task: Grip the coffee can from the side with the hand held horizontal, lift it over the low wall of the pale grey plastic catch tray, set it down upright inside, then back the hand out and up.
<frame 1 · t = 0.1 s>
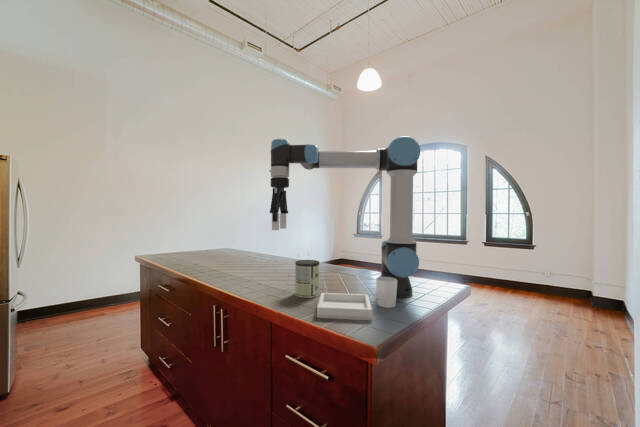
hand: (279, 229, 119), 28 cm above the counter, tool pointing down, fingers open, 13 cm apart
white cup: (386, 305, 110), on the counter
coffee can: (306, 295, 123), on the counter
catch tray: (344, 310, 104), on the counter
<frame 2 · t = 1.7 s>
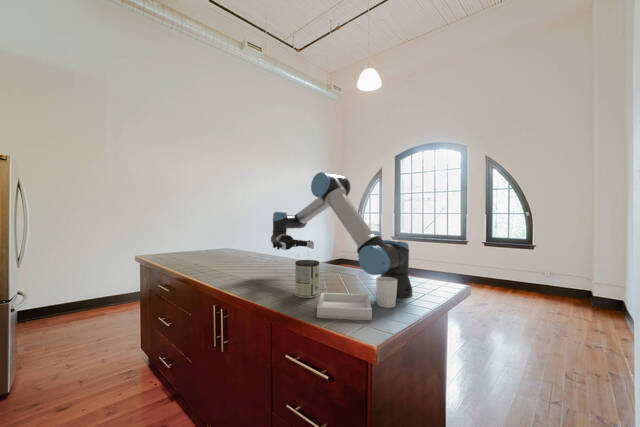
hand: (299, 246, 132), 20 cm above the counter, tool horizontal, fingers open, 13 cm apart
nothing on the counter moved.
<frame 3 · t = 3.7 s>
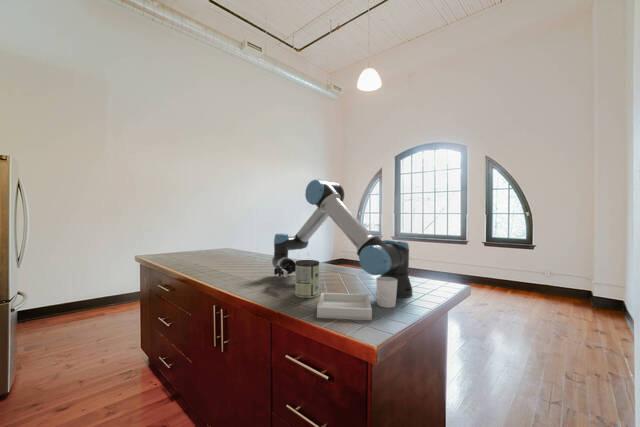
hand: (301, 273, 128), 8 cm above the counter, tool horizontal, fingers open, 13 cm apart
nothing on the counter moved.
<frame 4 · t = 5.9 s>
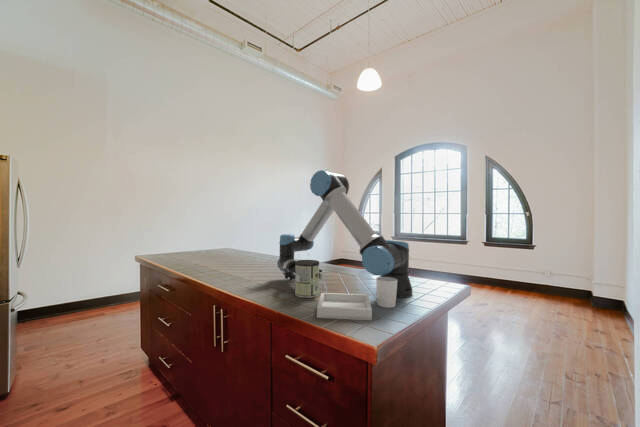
hand: (311, 277, 119), 8 cm above the counter, tool horizontal, fingers closed on coffee can, 10 cm apart
coffee can: (306, 295, 123), on the counter, touching gripper
everything else where it was.
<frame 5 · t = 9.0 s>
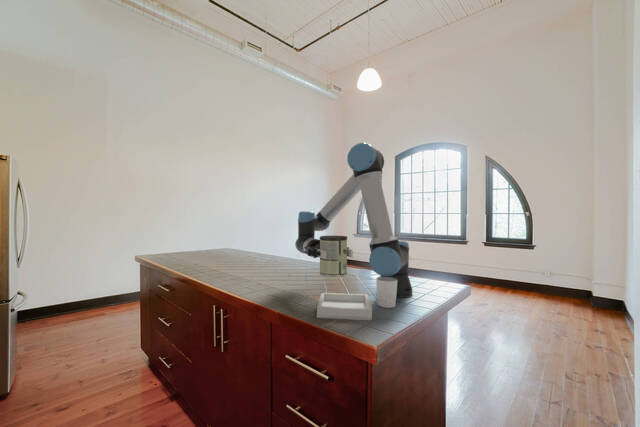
hand: (338, 254, 103), 20 cm above the counter, tool horizontal, fingers closed on coffee can, 10 cm apart
coffee can: (333, 274, 107), point 12 cm above the counter, touching gripper
everything else where it was.
when the fingers open (10 cm above the counter, at t = 12.2 s): coffee can drops 1 cm, resting on catch tray.
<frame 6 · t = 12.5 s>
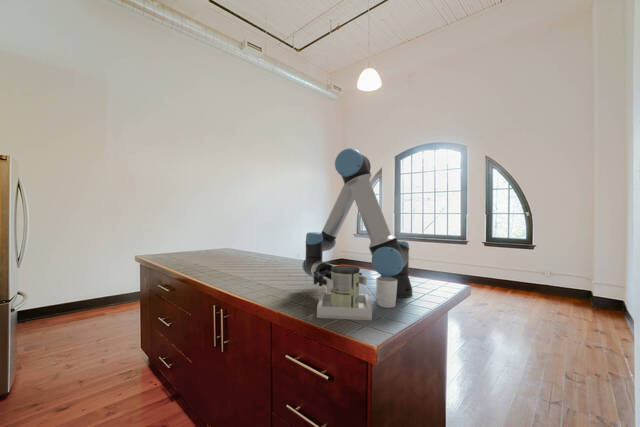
hand: (349, 282, 101), 10 cm above the counter, tool horizontal, fingers open, 13 cm apart
coffee can: (344, 307, 104), point 1 cm above the counter, touching catch tray
everything else where it was.
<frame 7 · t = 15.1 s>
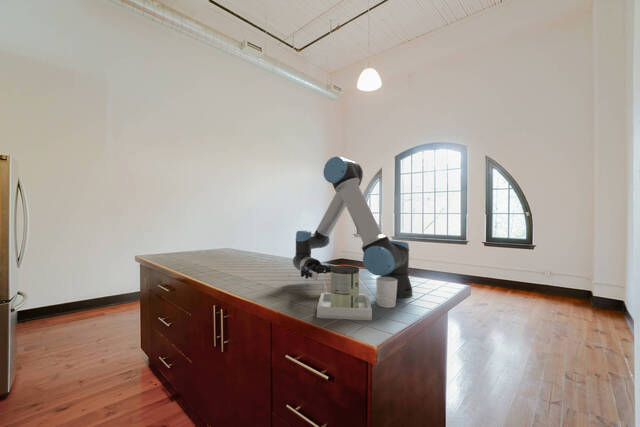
hand: (332, 275, 112), 11 cm above the counter, tool horizontal, fingers open, 13 cm apart
nothing on the counter moved.
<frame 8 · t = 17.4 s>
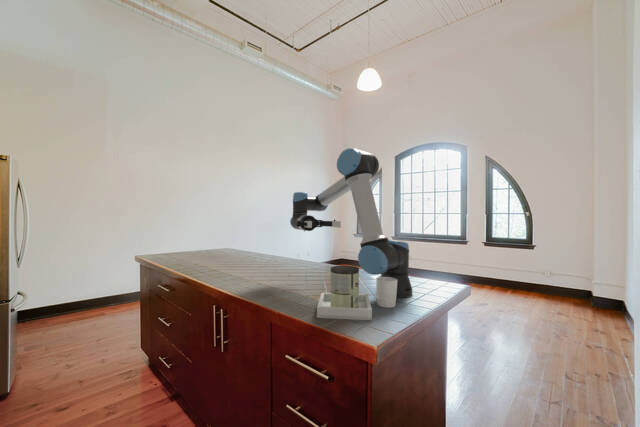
hand: (325, 224, 122), 30 cm above the counter, tool horizontal, fingers open, 13 cm apart
nothing on the counter moved.
at the end: coffee can inside the target area on the catch tray (0.1 cm from its centre), point 0.8 cm above the catch tray's base; coffee can tilted 0°; the gripper is holding nothing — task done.
